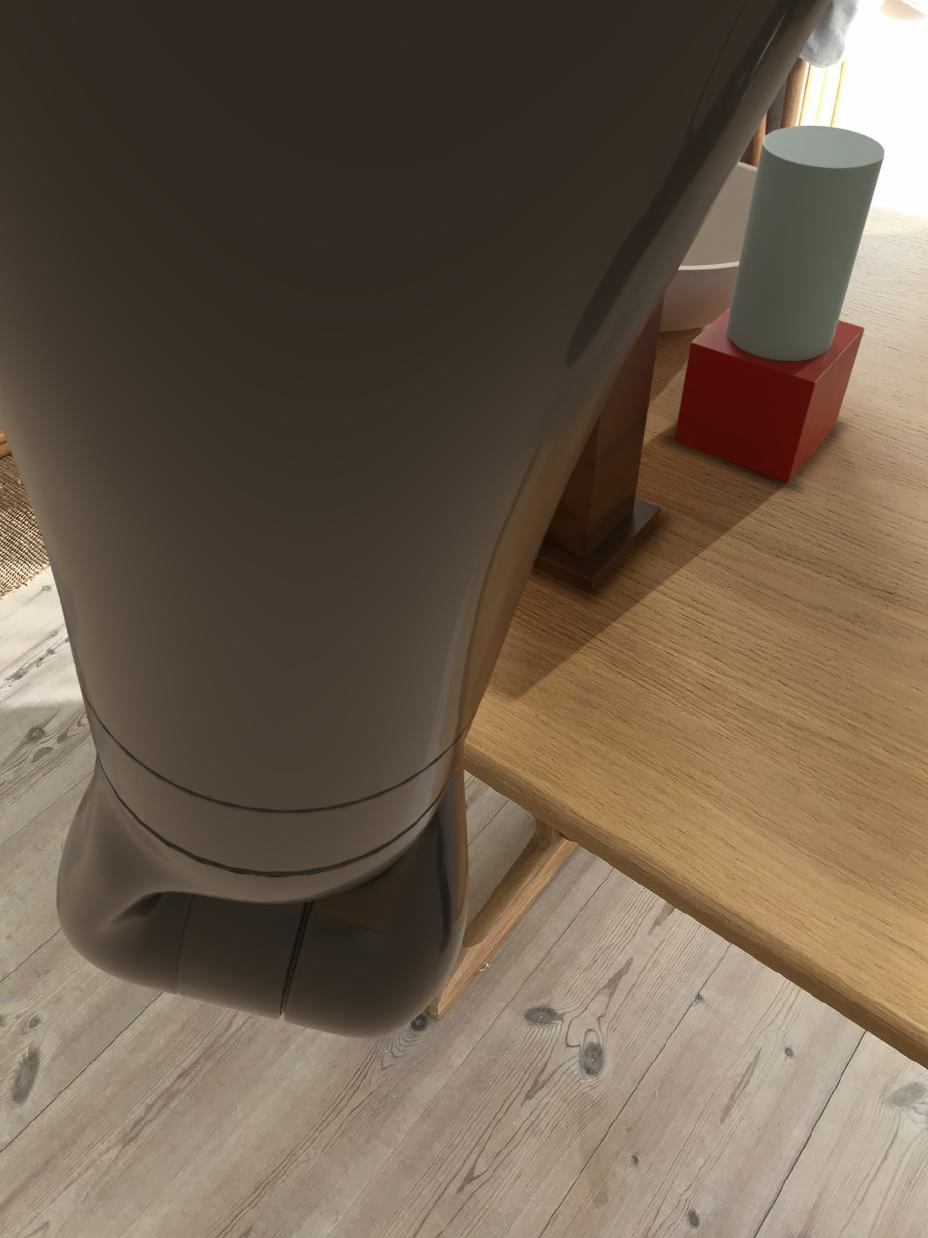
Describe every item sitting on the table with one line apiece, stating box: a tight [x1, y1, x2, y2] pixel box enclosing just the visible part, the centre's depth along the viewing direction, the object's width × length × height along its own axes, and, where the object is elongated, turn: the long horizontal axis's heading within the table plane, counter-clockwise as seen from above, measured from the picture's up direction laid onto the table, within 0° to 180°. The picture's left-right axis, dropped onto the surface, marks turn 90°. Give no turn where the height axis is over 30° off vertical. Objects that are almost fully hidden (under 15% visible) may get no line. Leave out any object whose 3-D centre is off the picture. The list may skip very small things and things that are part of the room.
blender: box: [673, 125, 886, 484], centre depth 76 cm, size 10×10×23 cm
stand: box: [533, 294, 665, 594], centre depth 64 cm, size 10×10×32 cm
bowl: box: [659, 161, 758, 332], centre depth 97 cm, size 27×27×10 cm
